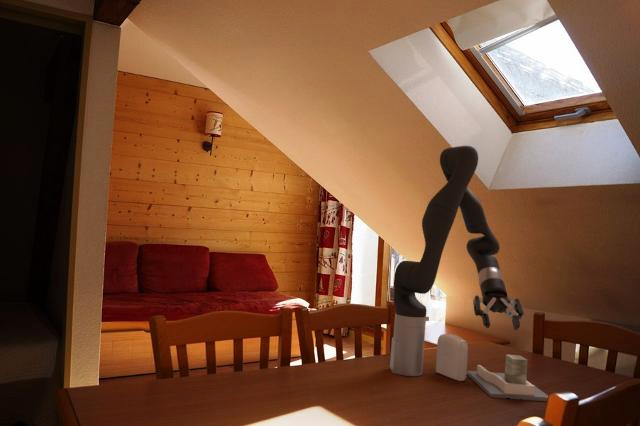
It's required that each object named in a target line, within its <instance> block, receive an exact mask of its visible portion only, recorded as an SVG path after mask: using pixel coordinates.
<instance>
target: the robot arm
mask: <svg viewBox="0 0 640 426" xmlns="http://www.w3.org/2000/svg"><path fill="white" fill-rule="evenodd" d="M478 163H479V153H478V150H477V149H476V148H475V147H474V146H472V145H460V146H453V147H451V146H450V147H447V148H444V149H443V150H442V151H441V153H440V155H439V164H440V167H441V171H442V173H443V175H444V177H445V179H446V184H445V185H444V186H442V188H440V189H439V191H438V192H437V193H435V194H434V195H433V197H432V198H431V199H430V200H429V202H428V203H427V206H426V208H425V211H424V214H423V217H422V220H421V228H422V233H423V237H424V246H425V247H424V250H423V254H422V257H421V259H420V261H413V260H402V261H400V262H398V264H397V266H396V268H395V270H394V271H395V272H394V276H393V305H394V310H395V311H394V313H395V314H394V325H393V336H392V337H391V344H390V345H391V347H390V348H391V349H390V362H389V369H390V371H391V373H392V374H395V375H401V376H405V377H407V376H408V377H419V376H422V374H423V368H424V367H423V365H424V352H425V337H426V323H427V307H426V305H425V304H423V303H422V302H420V301H419V299H417V297H416V294H421V295H424V294H428V293H429V292H430V291H431V290H432V289H433V286H434V283H435V281H436V279H437V274H438V271H439V267H440V262H441V258H442V255H443V252H444V249H445V247H446V246H445V245H446V243H447V239H448V237H449V234H450V231H451V229H452V227H453V224H454V221H455V219H456V217H457V213H458V210H459V209H460V212H461V215H462V218H463V221H464V225H465V228H466V231H467V232H468V233H469V234H472V235H473V234H475V235H476V234H479V235H480V234H481V235H482V236H478V237H474V238H471V239H468V240H467V243H466V251H467V253H468V254H469V256H470V259H472V261H473V263H474V264H475V267H476V270H477V271H476V272H477V276H478V285H479V288H480V293H481V297H480V296H479V295H475V296H474V299H472V300H473V301H472V302H473V309H474V311H473V312H474V315H475V317H478V316H479V317H480V318H481V319H482V324H483V327H485V329H489V328H490V326H491V322H490V316H489V313H490V312H492V313H499V314H504V315H505V316H506V317H509V318H510V319H511V322H512V326H513V330H514V331H518V329H520V326H521V322H520V320H521V319H522V317H523V316H524V314H525V312H524V310H523V307H522V304H521V302H520V299H519V298H515V299H512V300H511V298H509V296H508V291H507V287H506V285H505V280H504V277H503V274H502V272H501V268H500V265H499V261H498V259H497V258H496V257H495V255H497V254H498V253H499V251H500V242H499V241H498V239H497V237H496V236H495V235H494V233H493V231H492V230H491V228H490V226H489V224H488V221H487V218H486V214H485V211H484V210H485V209H484V208H483V205H482V204H481V202H480V200H479V198H478V197H477V196H475V194H474V193H473V192H472V191H471V189H470V188H469V187H468V186H469V184H470V182H471V180H472V179H473V177H474V175H475V172H476V170H477V168H478ZM481 304H483V305H484V306H485V308H484V310H482V309H481V308H482V307H481Z"/></svg>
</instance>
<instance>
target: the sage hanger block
mask: <svg viewBox="0 0 640 426" xmlns="http://www.w3.org/2000/svg"><path fill="white" fill-rule="evenodd" d="M528 361H529V360H528V359H527V358H525V357H524V356H522V355H518V354H505V366H504V373H505V378H504V380H505V381H506V382H508V383H512V384H526V380H527V375H528V373H527V372H528Z"/></svg>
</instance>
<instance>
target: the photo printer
mask: <svg viewBox="0 0 640 426" xmlns="http://www.w3.org/2000/svg"><path fill="white" fill-rule="evenodd" d="M436 344H437V345H436V359H435V360H436V361H435V372H436V373H437V374H440V375H442V376H444V377H447V378H450V379H451V380H455V381H458V382H463V381H464V382H465V380H466V379H467V371H468V370H467V369H468V354H469V353H468V352H469V351H468V350H469V344H468V342H467V341H466V340H465V339H463V338H462V337H460V336H458V335H456V334H454V333H446V334H440V335H439V336H438V339H437V343H436Z"/></svg>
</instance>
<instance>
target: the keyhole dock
mask: <svg viewBox="0 0 640 426" xmlns="http://www.w3.org/2000/svg"><path fill="white" fill-rule="evenodd" d="M466 376H468V377H469V378H470V379H471V380H472V381H473V382H474V383H475V384H477V386H479V388H481V389H482V391H484V393H486V395H488V396H489V397H490V398H492V397H493V398H495V399H506V398H510V399H509V400H521V399H522V400H521V401H523V400H524V401H538V402H548V401H547V399H548V396H549V395H548V394H547V393H545V392H544V391H542V390H541V389H540V388H539V387H537V386H535V385H534V384H533V383H531V382H530V381H528V380H527V379H526V384H512V383H508V382H506V381H505V380H504V378H505V372H504V373H503V372H492V371H489V370H487V369H486V367H483V366H482V365H481V364H477V366H476V371H475V370H467V374H466Z"/></svg>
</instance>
